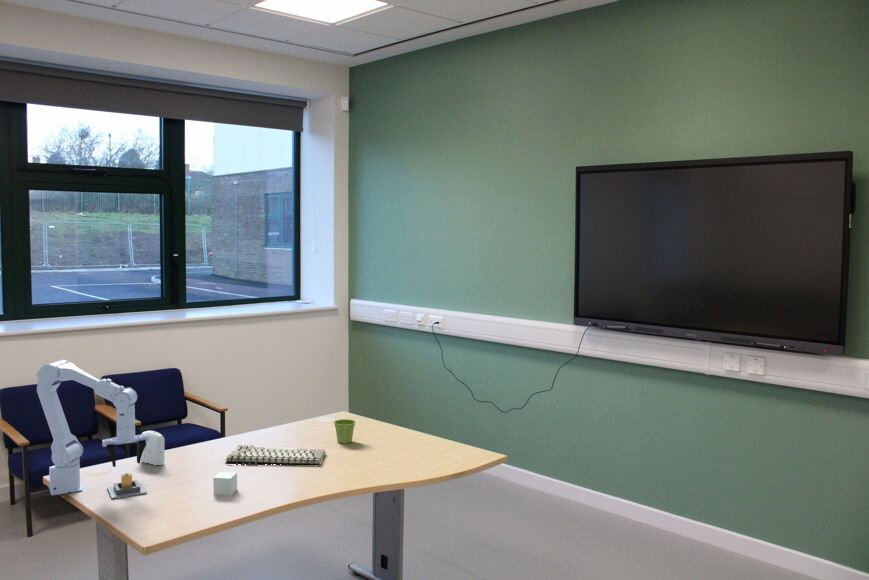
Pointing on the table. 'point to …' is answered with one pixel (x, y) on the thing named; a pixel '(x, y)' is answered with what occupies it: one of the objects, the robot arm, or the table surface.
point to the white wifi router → (153, 449)
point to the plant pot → (344, 430)
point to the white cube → (225, 483)
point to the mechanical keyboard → (274, 456)
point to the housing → (126, 490)
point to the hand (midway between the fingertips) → (126, 464)
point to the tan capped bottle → (126, 480)
